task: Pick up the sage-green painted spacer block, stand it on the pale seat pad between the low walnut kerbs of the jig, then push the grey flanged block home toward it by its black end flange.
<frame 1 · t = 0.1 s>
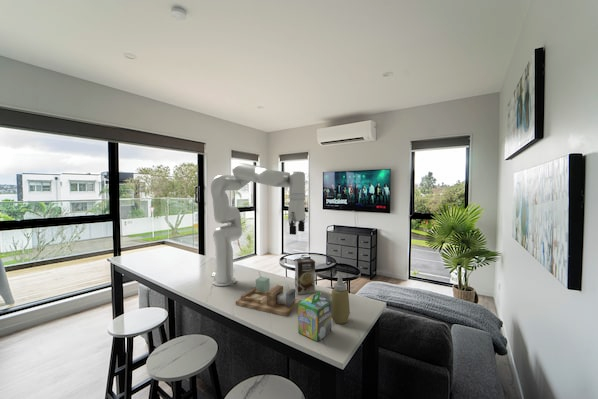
hand: (297, 232, 123), 31 cm above the table, fingers open, 9 cm apart
coffee box: (304, 291, 130), on the table
jig: (269, 303, 116), on the table
chalk box: (314, 332, 93), on the table
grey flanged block: (281, 295, 113), point 5 cm above the table, slide at 0.0 cm
squeeze bottle: (339, 320, 101), on the table
spacer block: (262, 292, 129), on the table
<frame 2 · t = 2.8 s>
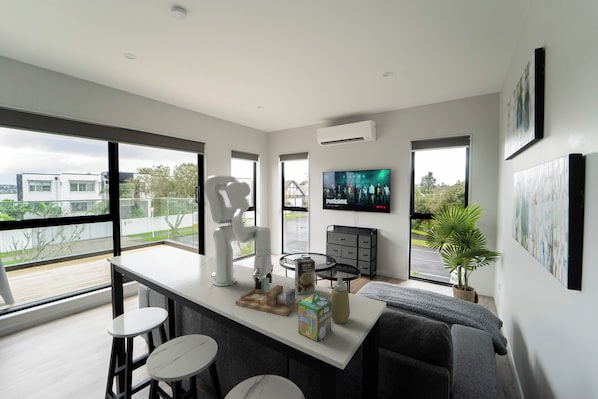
hand: (263, 285, 128), 3 cm above the table, fingers open, 9 cm apart
nothing on the table moved.
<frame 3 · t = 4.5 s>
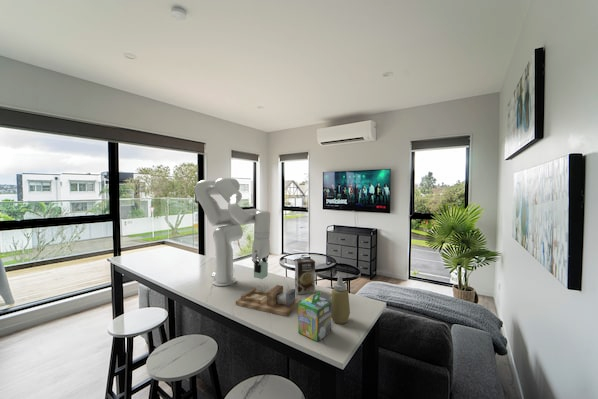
hand: (260, 270, 129), 11 cm above the table, fingers closed on spacer block, 4 cm apart
spacer block: (260, 276, 129), point 8 cm above the table, touching gripper
everything else where it was.
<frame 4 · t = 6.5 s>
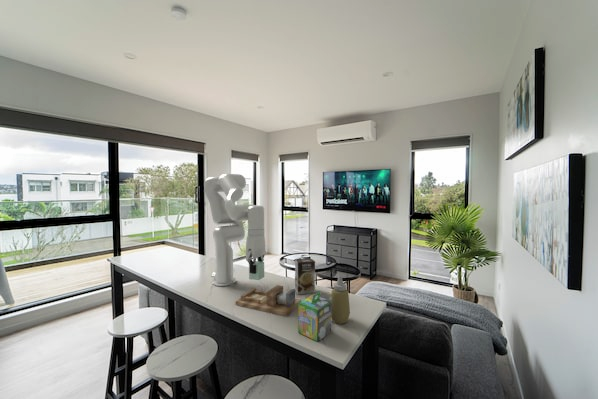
hand: (256, 271, 118), 14 cm above the table, fingers closed on spacer block, 4 cm apart
spacer block: (256, 277, 118), point 11 cm above the table, touching gripper
everything else where it was.
when the fingers open (4 cm above the table, at t = 8.6 s): spacer block stays where it is, resting on jig.
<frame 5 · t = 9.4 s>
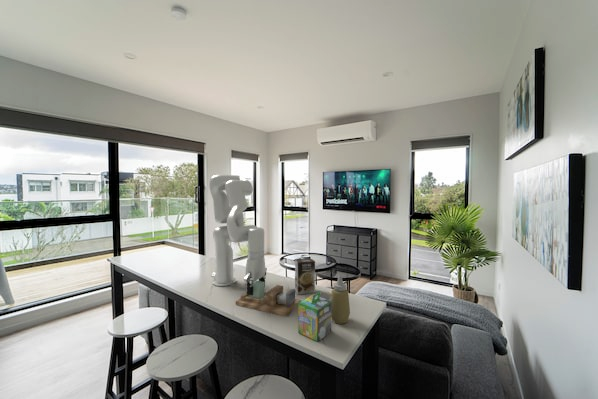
hand: (256, 290, 119), 5 cm above the table, fingers open, 9 cm apart
spacer block: (257, 297, 118), point 2 cm above the table, touching jig
everything else where it was.
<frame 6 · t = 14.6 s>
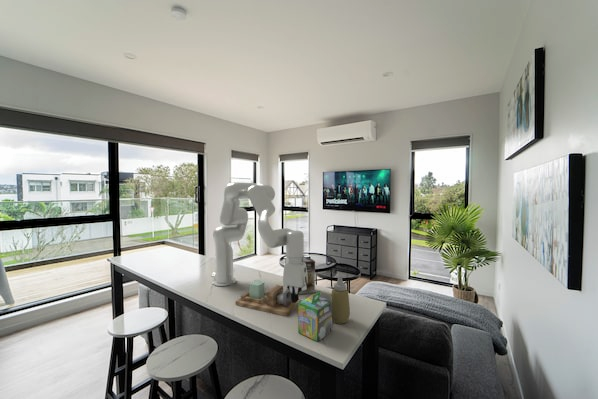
hand: (295, 301, 110), 3 cm above the table, fingers closed
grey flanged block: (278, 295, 114), point 5 cm above the table, slide at 1.4 cm, touching gripper
everything else where it was.
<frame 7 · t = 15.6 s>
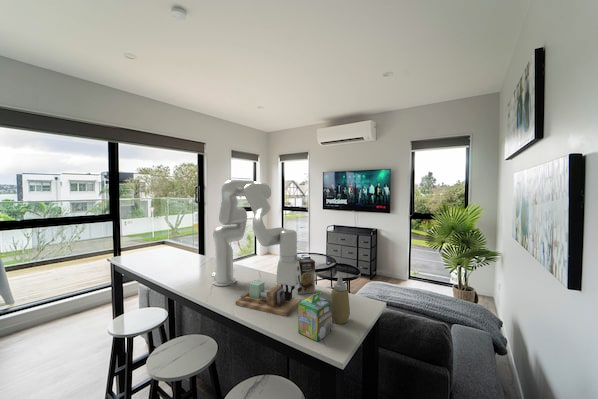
hand: (288, 299, 112), 4 cm above the table, fingers closed
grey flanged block: (272, 294, 115), point 5 cm above the table, slide at 4.5 cm, touching gripper
everything else where it was.
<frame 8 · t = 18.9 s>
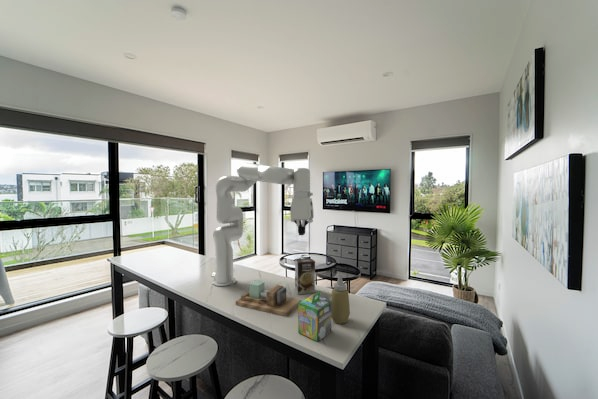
hand: (301, 234, 118), 31 cm above the table, fingers closed
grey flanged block: (272, 294, 115), point 5 cm above the table, slide at 4.5 cm
everything else where it was.
at the end: spacer block inside the target area (0.4 cm from its centre), point 1.7 cm above the table; spacer block tilted 0°; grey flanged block slide at 4.5 cm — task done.
